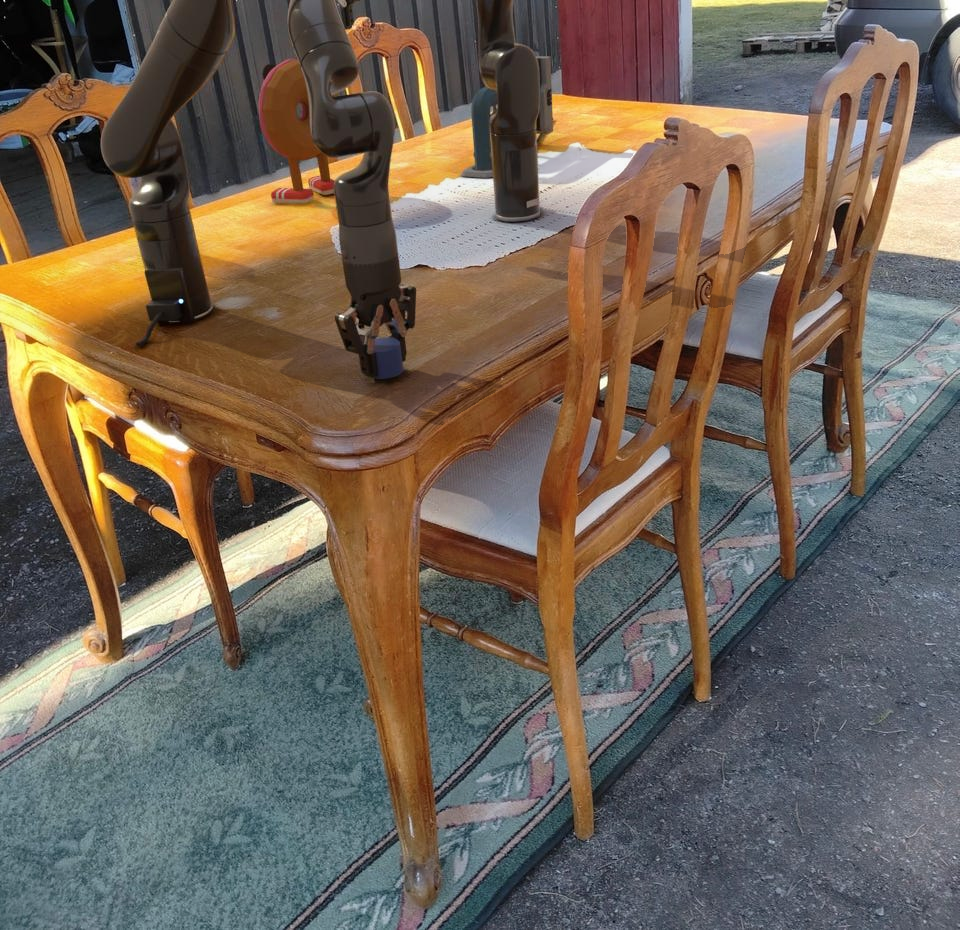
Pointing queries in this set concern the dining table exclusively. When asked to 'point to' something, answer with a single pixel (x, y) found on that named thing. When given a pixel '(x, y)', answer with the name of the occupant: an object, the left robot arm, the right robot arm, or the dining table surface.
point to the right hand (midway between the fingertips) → (328, 29)
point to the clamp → (482, 112)
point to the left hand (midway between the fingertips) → (385, 367)
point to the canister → (388, 357)
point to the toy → (291, 130)
